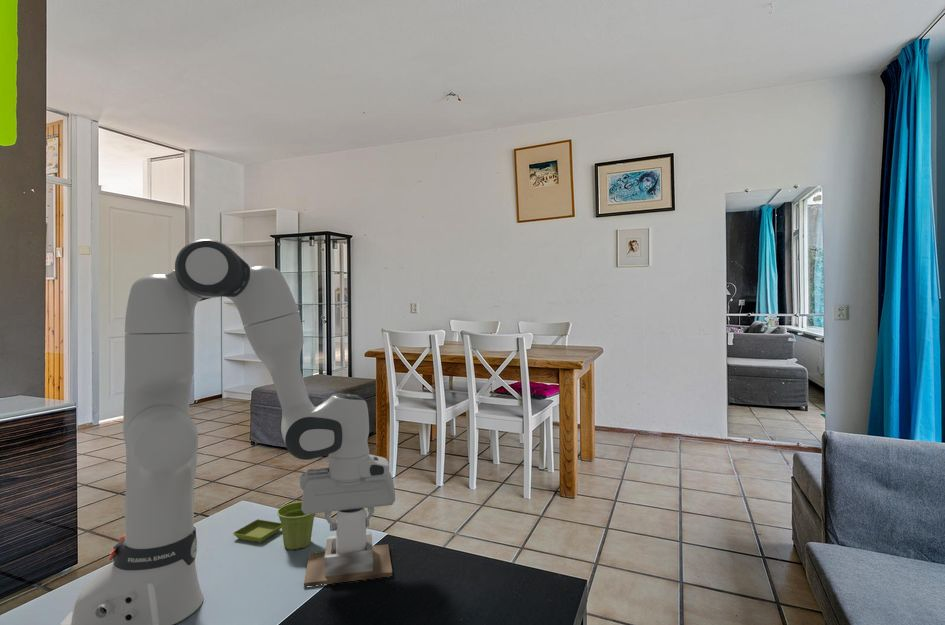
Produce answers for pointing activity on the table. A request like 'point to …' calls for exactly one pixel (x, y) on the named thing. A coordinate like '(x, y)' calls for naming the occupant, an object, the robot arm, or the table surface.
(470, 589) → the table surface
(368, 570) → the socket board
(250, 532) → the saucer
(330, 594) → the table surface
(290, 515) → the plant pot
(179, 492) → the robot arm
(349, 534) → the can
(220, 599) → the table surface
